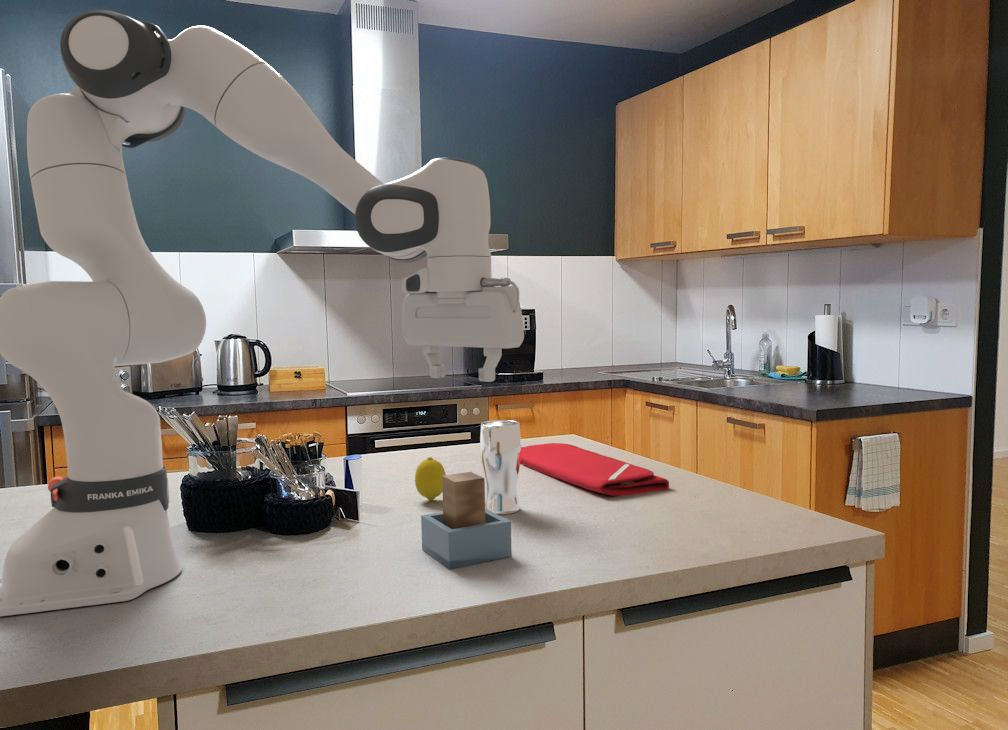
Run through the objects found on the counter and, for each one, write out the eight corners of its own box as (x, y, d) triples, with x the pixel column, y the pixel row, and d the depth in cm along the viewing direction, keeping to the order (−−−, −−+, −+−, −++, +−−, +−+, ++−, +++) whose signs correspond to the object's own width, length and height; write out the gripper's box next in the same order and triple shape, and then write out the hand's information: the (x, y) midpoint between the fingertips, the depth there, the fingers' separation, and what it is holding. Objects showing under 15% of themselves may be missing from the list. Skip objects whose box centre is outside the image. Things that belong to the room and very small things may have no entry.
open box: (449, 569, 101) (448, 532, 100) (422, 549, 109) (421, 515, 109) (511, 556, 105) (510, 521, 105) (480, 538, 114) (480, 505, 113)
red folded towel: (566, 453, 179) (566, 438, 178) (671, 491, 141) (671, 472, 141) (505, 460, 172) (505, 444, 172) (599, 502, 135) (599, 481, 135)
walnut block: (456, 553, 104) (454, 482, 103) (443, 544, 108) (442, 475, 107) (486, 548, 106) (484, 477, 105) (472, 539, 110) (470, 471, 109)
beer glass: (508, 517, 125) (506, 427, 123) (473, 512, 128) (471, 424, 127) (529, 507, 130) (528, 421, 129) (495, 502, 134) (493, 418, 133)
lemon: (441, 505, 133) (440, 460, 132) (411, 504, 134) (410, 460, 133) (450, 497, 138) (449, 454, 138) (421, 496, 139) (419, 453, 139)
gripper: (533, 277, 100) (534, 381, 101) (425, 281, 113) (427, 373, 114) (502, 276, 95) (503, 386, 96) (393, 281, 108) (396, 377, 109)
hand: (461, 379), depth 105 cm, fingers open, 8 cm apart
